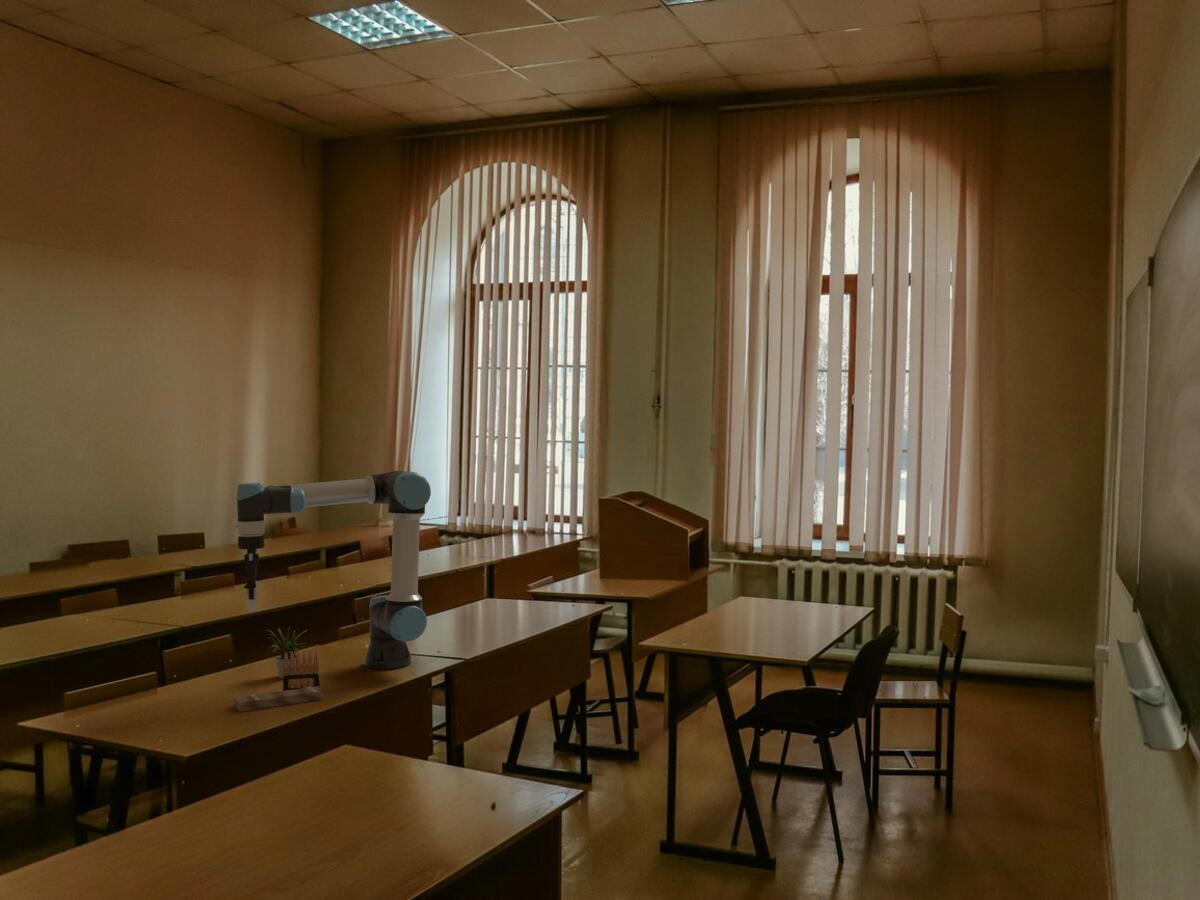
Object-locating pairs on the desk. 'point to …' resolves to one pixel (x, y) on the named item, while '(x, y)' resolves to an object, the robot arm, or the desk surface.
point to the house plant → (286, 649)
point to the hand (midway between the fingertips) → (252, 606)
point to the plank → (279, 698)
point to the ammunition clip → (291, 676)
